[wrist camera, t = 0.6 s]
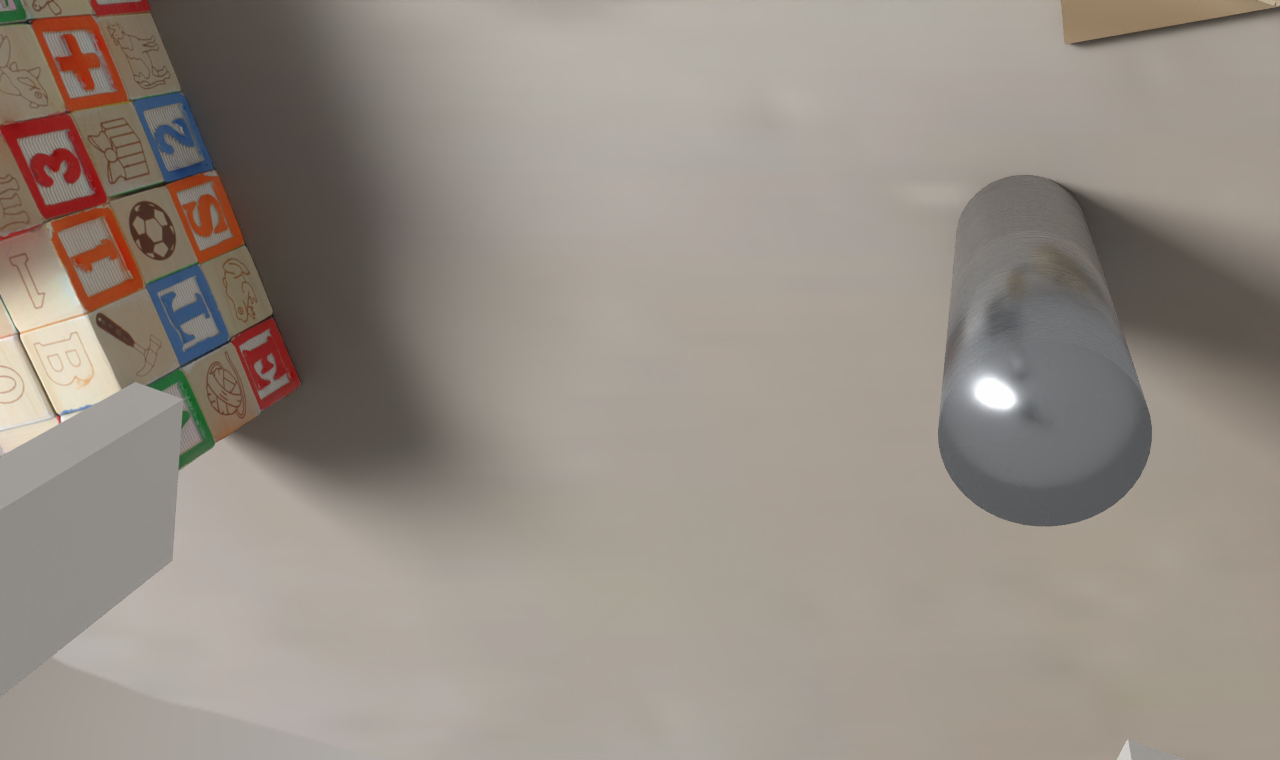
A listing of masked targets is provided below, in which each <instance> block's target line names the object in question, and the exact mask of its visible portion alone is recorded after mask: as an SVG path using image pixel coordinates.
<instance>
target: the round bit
mask: <svg viewBox="0 0 1280 760" xmlns="http://www.w3.org/2000/svg"><path fill="white" fill-rule="evenodd" d="M938 439H939V448H940V453H941V457H942V459H943V462H944V465H945V468H946V469H947V471H948V473H949V475H950V477H951V479H952V480H953V481H954V483H955V484H956V486H957V487H958V488H959V489H960V490H961V491H962V492H963V494H964V495H965V496H966V497H967V498H969V499H970V500H971V501H972V502H973V503H975V504H976V505H977V506H979V507H981V508H982V509H984V510H985V511H987V512H989V513H991V514H993V515H995V516H997V517H999V518H1002V519H1005V520H1008V521H1011V522H1015V523H1019V524H1023V525H1031V526H1058V525H1066V524H1071V523H1075V522H1079V521H1082V520H1085V519H1088V518H1091V517H1093V516H1095V515H1097V514H1099V513H1101V512H1103V511H1105V510H1106V509H1108V508H1109V507H1111V506H1112V505H1114V504H1115V503H1116V502H1118V501H1119V500H1120V499H1121V498H1122V497H1124V496H1125V494H1126V493H1127V492H1128V491H1129V490H1130V489H1131V488H1132V487H1133V486H1134V484H1135V483H1136V481H1137V480H1138V478H1139V477H1140V475H1141V473H1142V471H1143V469H1144V467H1145V465H1146V462H1147V459H1148V456H1149V453H1150V447H1151V441H1152V426H1151V420H1150V414H1149V411H1148V408H1147V405H1146V401H1145V398H1144V395H1143V392H1142V389H1141V386H1140V383H1139V380H1138V377H1137V374H1136V371H1135V368H1134V365H1133V362H1132V359H1131V356H1130V353H1129V350H1128V347H1127V344H1126V341H1125V338H1124V335H1123V332H1122V329H1121V326H1120V322H1119V319H1118V316H1117V313H1116V310H1115V307H1114V304H1113V301H1112V298H1111V295H1110V292H1109V289H1108V286H1107V283H1106V280H1105V277H1104V274H1103V271H1102V268H1101V265H1100V262H1099V259H1098V256H1097V253H1096V250H1095V247H1094V244H1093V240H1092V237H1091V234H1090V231H1089V228H1088V225H1087V222H1086V219H1085V216H1084V213H1083V211H1082V209H1081V207H1080V205H1079V203H1078V202H1077V200H1076V199H1075V198H1074V197H1073V196H1072V194H1071V193H1070V192H1068V191H1067V190H1066V189H1065V188H1064V187H1062V186H1061V185H1059V184H1057V183H1056V182H1053V181H1051V180H1049V179H1046V178H1043V177H1038V176H1032V175H1018V176H1011V177H1006V178H1003V179H1000V180H997V181H995V182H993V183H991V184H989V185H988V186H986V187H985V188H983V189H982V190H981V191H979V192H978V193H977V194H976V195H975V196H974V197H973V198H972V199H971V200H970V202H969V203H968V204H967V206H966V207H965V209H964V211H963V213H962V215H961V217H960V220H959V223H958V227H957V234H956V245H955V256H954V267H953V277H952V288H951V299H950V310H949V321H948V331H947V342H946V353H945V364H944V374H943V385H942V396H941V407H940V417H939V428H938Z"/></svg>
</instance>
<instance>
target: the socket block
mask: <svg viewBox="0 0 1280 760" xmlns="http://www.w3.org/2000/svg"><path fill="white" fill-rule="evenodd" d="M1061 2H1062V14H1063V26H1064V38H1065V44H1070V43H1075V42H1081V41H1087V40H1093V39H1098V38H1104V37H1110V36H1115V35H1121V34H1127V33H1132V32H1138V31H1144V30H1149V29H1155V28H1161V27H1166V26H1172V25H1178V24H1183V23H1189V22H1195V21H1200V20H1206V19H1212V18H1218V17H1223V16H1229V15H1235V14H1240V13H1246V12H1252V11H1257V10H1263V9H1269V8H1274V7H1280V0H1061Z"/></svg>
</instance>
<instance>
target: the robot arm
mask: <svg viewBox="0 0 1280 760" xmlns="http://www.w3.org/2000/svg"><path fill="white" fill-rule="evenodd" d="M182 410H183V399H181V398H178V397H176V396H173V395H170V394H167V393H164V392H162V391H159V390H156V389H153V388H151V387H148V386H145V385H142V384H139V383H137V382H134V383H133V384H131V385H129V386H127V387H125V388H124V389H122V390H120V391H118V392H116V393H114V394H113V395H111V396H109V397H107V398H105V399H104V400H102V401H100V402H98V403H96V404H95V405H93V406H91V407H89V408H87V409H85V410H84V411H82V412H80V413H78V414H76V415H75V416H73V417H71V418H69V419H67V420H65V421H64V422H62V423H60V424H58V425H56V426H55V427H53V428H51V429H49V430H47V431H45V432H44V433H42V434H40V435H38V436H36V437H35V438H33V439H31V440H29V441H27V442H25V443H24V444H22V445H20V446H18V447H16V448H15V449H13V450H11V451H9V452H7V453H6V454H4V455H2V456H0V697H1V696H2V695H4V694H5V693H6V692H7V691H9V690H10V689H11V688H13V687H14V686H15V685H16V684H17V683H19V682H20V681H21V680H22V679H24V678H25V677H26V676H27V675H29V674H30V673H31V672H33V671H34V670H35V669H36V668H38V667H39V666H40V665H41V664H43V663H44V662H45V661H46V660H48V659H49V658H50V657H52V656H53V655H54V654H55V653H57V652H58V651H59V650H60V649H62V648H63V647H64V646H65V645H67V644H68V643H69V642H70V641H72V640H73V639H74V638H75V637H77V636H78V635H79V634H80V633H82V632H83V631H84V630H85V629H87V628H88V627H89V626H90V625H92V624H93V623H94V622H96V621H97V620H98V619H99V618H101V617H102V616H103V615H104V614H106V613H107V612H108V611H109V610H111V609H112V608H113V607H114V606H116V605H117V604H118V603H119V602H121V601H122V600H123V599H124V598H126V597H127V596H128V595H129V594H131V593H132V592H133V591H135V590H136V589H137V588H138V587H140V586H141V585H142V584H143V583H145V582H146V581H147V580H148V579H150V578H151V577H152V576H153V575H155V574H156V573H157V572H158V571H160V570H161V569H162V568H163V567H165V566H166V565H167V564H168V563H170V562H171V561H172V556H173V542H174V527H175V512H176V498H177V483H178V469H179V454H180V439H181V425H182ZM1117 760H1186V759H1183V758H1180V757H1177V756H1175V755H1172V754H1169V753H1166V752H1163V751H1161V750H1158V749H1155V748H1152V747H1149V746H1147V745H1144V744H1141V743H1138V742H1136V741H1133V740H1130V739H1128V740H1127V741H1126V743H1125V745H1124V747H1123V749H1122V751H1121V753H1120V755H1119V756H1118V758H1117Z"/></svg>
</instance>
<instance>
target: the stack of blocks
mask: <svg viewBox="0 0 1280 760" xmlns="http://www.w3.org/2000/svg"><path fill="white" fill-rule="evenodd" d="M272 313H273V310H272V307H271V305H270V302H269V300H268V297H267V295H266V292H265V289H264V287H263V284H262V282H261V280H260V277H259V275H258V272H257V270H256V267H255V265H254V262H253V260H252V257H251V255H250V253H249V251H248V249H247V248H246V246H245V245H244V239H243V236H242V233H241V230H240V227H239V225H238V223H237V220H236V218H235V215H234V213H233V210H232V207H231V205H230V202H229V200H228V197H227V194H226V192H225V190H224V187H223V185H222V183H221V180H220V177H219V175H218V173H217V172H216V171H215V170H214V169H213V164H212V162H211V159H210V156H209V154H208V152H207V149H206V147H205V145H204V142H203V140H202V137H201V134H200V132H199V130H198V127H197V125H196V123H195V120H194V117H193V115H192V112H191V110H190V108H189V105H188V102H187V100H186V97H185V96H184V94H183V93H182V92H181V87H180V84H179V81H178V79H177V76H176V74H175V72H174V69H173V67H172V64H171V62H170V60H169V57H168V55H167V52H166V49H165V47H164V45H163V42H162V40H161V37H160V35H159V32H158V30H157V27H156V25H155V23H154V20H153V18H152V16H151V13H150V6H149V4H148V1H147V0H0V446H1V448H2V450H3V452H4V454H6V453H7V452H9V451H11V450H13V449H15V448H16V447H18V446H20V445H22V444H24V443H25V442H27V441H29V440H31V439H33V438H35V437H36V436H38V435H40V434H42V433H44V432H45V431H47V430H49V429H51V428H53V427H55V426H56V425H58V424H60V423H62V422H64V421H65V420H67V419H69V418H71V417H73V416H75V415H76V414H78V413H80V412H82V411H84V410H85V409H87V408H89V407H91V406H93V405H95V404H96V403H98V402H100V401H102V400H104V399H105V398H107V397H109V396H111V395H113V394H114V393H116V392H118V391H120V390H122V389H124V388H125V387H127V386H129V385H131V384H133V383H134V382H137V383H139V384H142V385H145V386H148V387H151V388H153V389H156V390H159V391H162V392H164V393H167V394H170V395H173V396H176V397H178V398H181V399H183V410H182V425H181V439H180V454H179V469H178V471H179V470H180V469H182V468H183V467H185V466H186V465H188V464H189V463H191V462H192V461H193V460H195V459H196V458H198V457H199V456H201V455H202V454H204V453H205V452H207V451H208V450H210V449H211V448H213V446H214V445H215V443H216V442H218V441H219V440H221V439H223V438H225V437H226V436H228V435H230V434H231V433H233V432H234V431H236V430H237V429H239V428H240V427H242V426H243V425H245V424H246V423H248V422H249V421H251V420H252V419H254V418H256V417H257V416H258V415H259V414H260V412H261V411H263V410H265V409H267V408H268V407H270V406H271V405H273V404H274V403H276V402H278V401H279V400H281V399H282V398H284V397H285V396H287V395H288V394H290V393H291V392H293V391H294V390H296V389H297V388H298V387H299V386H300V385H301V383H300V379H299V377H298V375H297V373H296V370H295V368H294V366H293V363H292V361H291V358H290V356H289V354H288V351H287V349H286V347H285V344H284V342H283V339H282V337H281V334H280V332H279V330H278V328H277V325H276V322H275V320H274V319H273V318H272Z"/></svg>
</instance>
